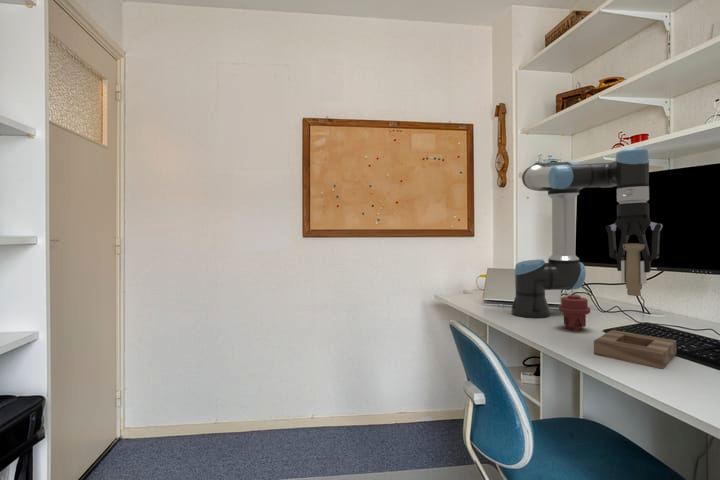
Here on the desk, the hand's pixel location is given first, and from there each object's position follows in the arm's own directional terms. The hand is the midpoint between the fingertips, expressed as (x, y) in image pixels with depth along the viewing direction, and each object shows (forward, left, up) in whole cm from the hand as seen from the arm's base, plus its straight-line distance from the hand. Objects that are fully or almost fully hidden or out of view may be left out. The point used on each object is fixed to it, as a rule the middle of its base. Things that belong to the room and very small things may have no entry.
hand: (633, 282), depth 106 cm
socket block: (0, 0, -21) cm, 21 cm away
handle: (0, 0, -4) cm, 4 cm away
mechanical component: (-16, -22, -21) cm, 35 cm away
